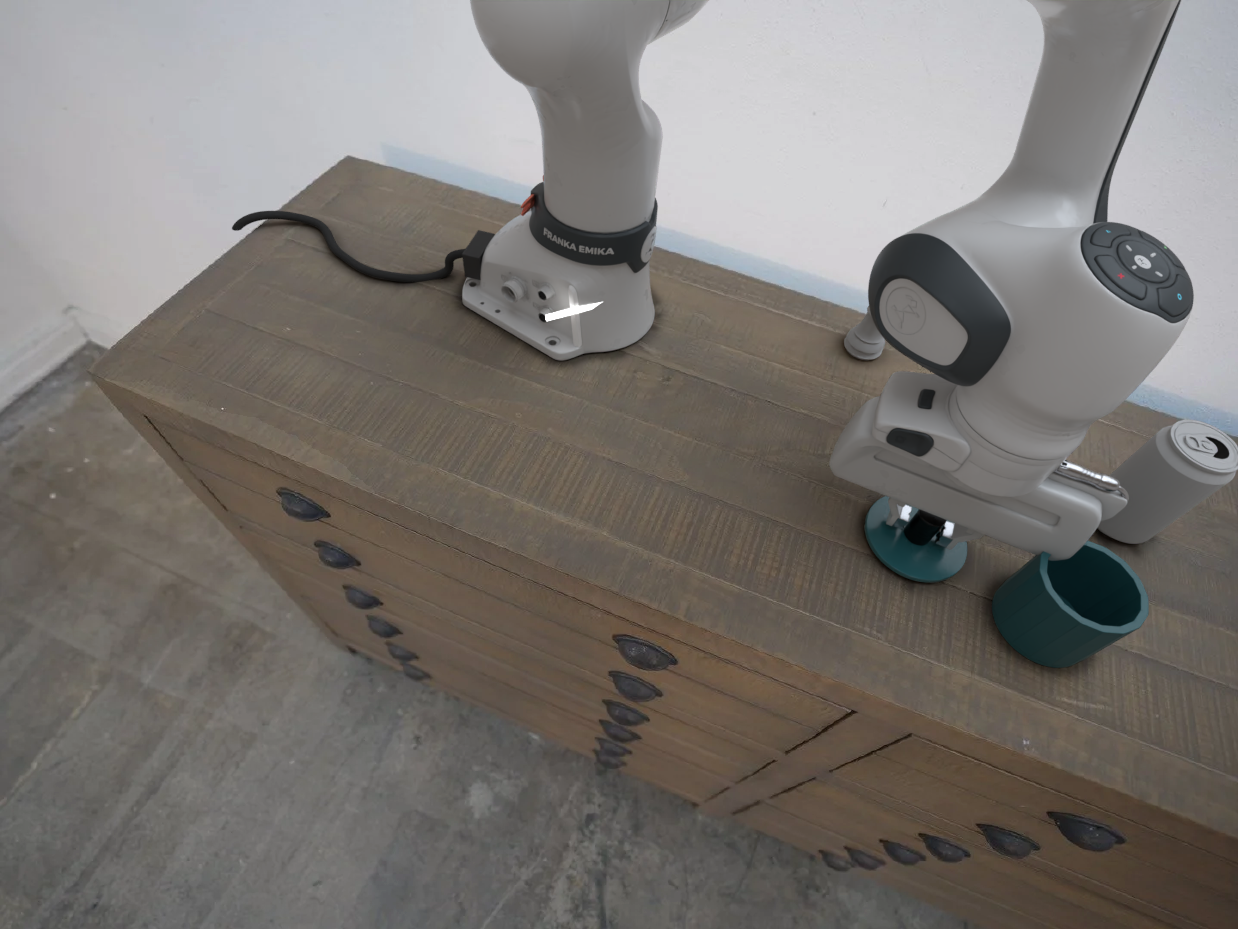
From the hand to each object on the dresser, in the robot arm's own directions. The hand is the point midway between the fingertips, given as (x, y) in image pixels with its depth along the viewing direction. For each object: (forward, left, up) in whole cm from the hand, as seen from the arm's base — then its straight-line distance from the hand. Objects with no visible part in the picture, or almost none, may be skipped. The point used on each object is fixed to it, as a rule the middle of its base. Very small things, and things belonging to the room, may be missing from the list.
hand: (918, 531), depth 62 cm
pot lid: (0, 0, -1) cm, 1 cm away
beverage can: (+18, +12, -2) cm, 22 cm away
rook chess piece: (-10, +24, -2) cm, 26 cm away
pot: (+12, -3, -2) cm, 12 cm away
